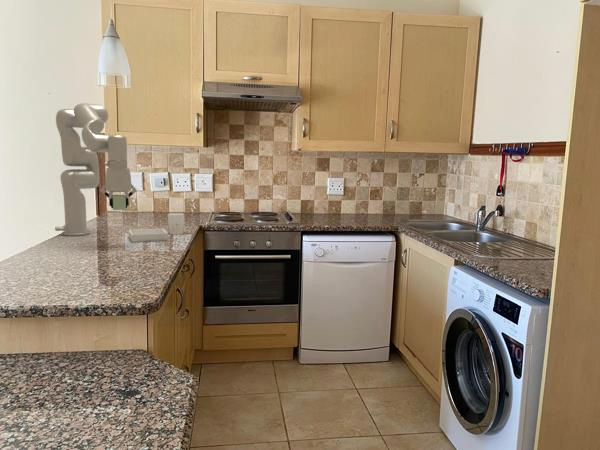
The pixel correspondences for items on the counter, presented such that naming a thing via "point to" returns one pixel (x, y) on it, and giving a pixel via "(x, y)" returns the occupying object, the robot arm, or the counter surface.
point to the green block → (119, 202)
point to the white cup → (176, 223)
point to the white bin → (148, 235)
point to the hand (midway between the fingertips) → (119, 207)
